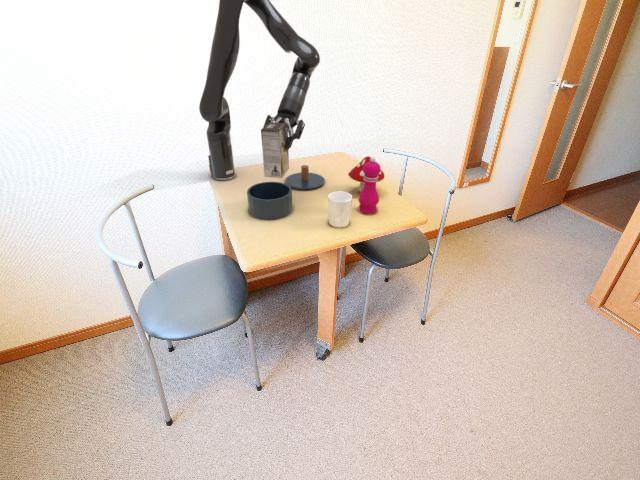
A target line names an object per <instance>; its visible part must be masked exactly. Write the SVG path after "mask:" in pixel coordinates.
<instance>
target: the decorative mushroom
mask: <svg viewBox="0 0 640 480" xmlns="http://www.w3.org/2000/svg"><path fill="white" fill-rule="evenodd" d="M370 158H372V157H371V156H365V157H364V158H362V160H361V161H359V162H358V164H356V165H355V166H354V167H353V168H351V169H350V170H349V171H348V173H347V175H348V177H349V178H350V179H352V180H353V181H356V182H358V183H359V186H358V192H359V193H361V192H362V190H363V188H364V184H365V180H364V175H365V174H364V172H363V166H364V164H365V163H367V162H369V161H370ZM384 179H385V172H384V171H383V170H382V169H381V171H380V173H379V174H378V181H377V182H376V183H378V182H381V181H382V180H384Z"/></svg>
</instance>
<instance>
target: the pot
mask: <svg viewBox="0 0 640 480" xmlns="http://www.w3.org/2000/svg"><path fill="white" fill-rule="evenodd" d="M246 197H247V207H248V212H249V214H250V215H251V217H253V218H256V219H258V220H262V221H263V220H264V221H274V220H280V219H283V218H286V217H287V216H289V215H290V214H291V213H292V212H293V188H292V187H290V186H289V185H287V184H286V183H285V182H281V181H280V182H279V181H262V182H257V183H255V184H253V185H251V186H250V187H248V188H247V191H246Z"/></svg>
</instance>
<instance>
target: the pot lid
mask: <svg viewBox="0 0 640 480" xmlns="http://www.w3.org/2000/svg"><path fill="white" fill-rule="evenodd" d="M300 168H301V169H300V171H301V172H296V173H295V172H294V173H292V174H289V175H288V176H287V177H285V180H284V184H287V185H289V186H290V187H291V189H296V190H313V189H318V188H320V187H322V186H323V185H324V184H325V182H326V179H325V177H324V176H322V175H321V174H318V173H315V172H309V165H308V164H303V165H301V166H300Z"/></svg>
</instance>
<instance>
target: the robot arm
mask: <svg viewBox="0 0 640 480" xmlns="http://www.w3.org/2000/svg"><path fill="white" fill-rule="evenodd" d="M244 4H245V5H247V6H248V7H249V8H250V10H252V11H253V12H254V13H255V14H256V15H257V17H258V18H259V19H260V21H261V23H262V24H263V26H264V28H265V29H266V31H267V32H268V34H269V35H270V37H271V38H272V39H273V40H274V42H275V43H276V44H277V45H278V46H279V47H280V48H281V49H282V51H283V52H284V53H286V54H291V53H293V54H295V55H296V56H297V58H296V60H295V62H294V65H293V67H292V71H291V76H290V78H289V81H288V83H287V86H286V88H285V90H284V92H283V94H282V97H281V99H280V102H279V104H278V105H279V106H278V108H277V113H276V115H275V116H271V115H270V114H267V115H266V118H265V121H264V124H263V127H262V128H264V127H265V126H266V125H267V124H268V123H270V122H273V123H288V127H287V130H288V138H287V141H286V143H285V148H286V149H287V150H288V151H289V150H290V149H292V146H293V143H294V141H295V140H301V137H302V135H303V131H304V130H305V127H306V124H305V122H304V119H300V116H301V113H302V110H303V108H304V105H305V102H306V97H307V94H308V91H309V88H310V86H311V80H310V79H311V77H312V75H313V74H314V73H313V72H314V71H315V70H316V68H317V67H318V66H319V65H320V62H321V56H320V53H319V51H318V49H317V48H316V47H315V46H314V45H313V44H312V43H310V42H309V41H307V40H306V38H304V37H302V36H301V35H299V34H298V33H297V32H296V30H295V29H294V28H293V27H292V25H290V23H289V22H288V21H287V20H286V19H285V18H284V16H283V15H282V14H281V13H280V12H279V11H278V9H277V8H276V7H275V6H274V4H273V3H272V2H271V0H219V1H218V12H217V18H216V21H215V27H214V33H213V38H212V42H211V48H210V54H209V60H208V66H207V71H206V80H205V84H204V89H203V90H202V91H203V92H202V95H201V97H200V101H199V107H198V109H199V114H200V116H201V118H202V119H203V120H204V121H205V122H207V123H208V126H207V129H206V131H205V132H206V140H207V145H208V146H207V147H208V151H209V154H208V163H209V164H208V167H209V172H210V176H211V178H213V179H214V180H216V181H230V180H232V179H234V178H236V169H235V161H234V155H233V147H232V145H233V144H232V139H231V138H232V137H231V128H232V124H231V122H232V121H231V112H230V105H229V103H228V100H227V99H226V98H225V91H226V88H227V85H228V83H229V82H230V79H231V78H232V76H233V73H234V71H235V69H236V65H237V62H238V58H239V57H238V56H239V52H240V49H241V48H240V47H241V37H240V18H241V13H242V9H243V6H244ZM295 127H296V129H295V130H294V128H295Z"/></svg>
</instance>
